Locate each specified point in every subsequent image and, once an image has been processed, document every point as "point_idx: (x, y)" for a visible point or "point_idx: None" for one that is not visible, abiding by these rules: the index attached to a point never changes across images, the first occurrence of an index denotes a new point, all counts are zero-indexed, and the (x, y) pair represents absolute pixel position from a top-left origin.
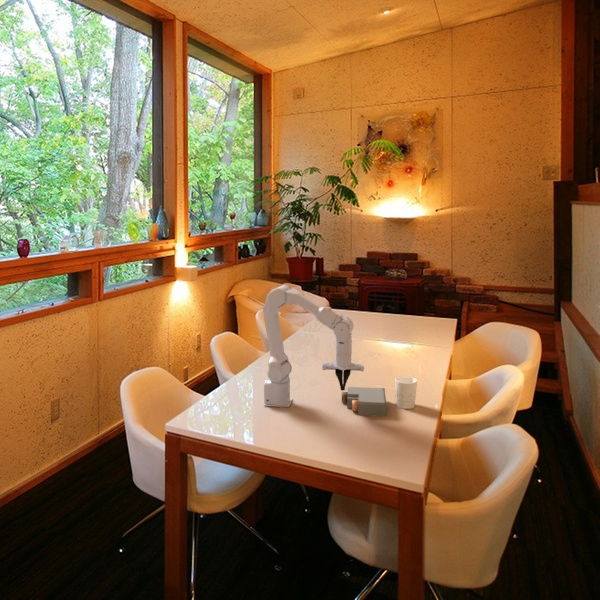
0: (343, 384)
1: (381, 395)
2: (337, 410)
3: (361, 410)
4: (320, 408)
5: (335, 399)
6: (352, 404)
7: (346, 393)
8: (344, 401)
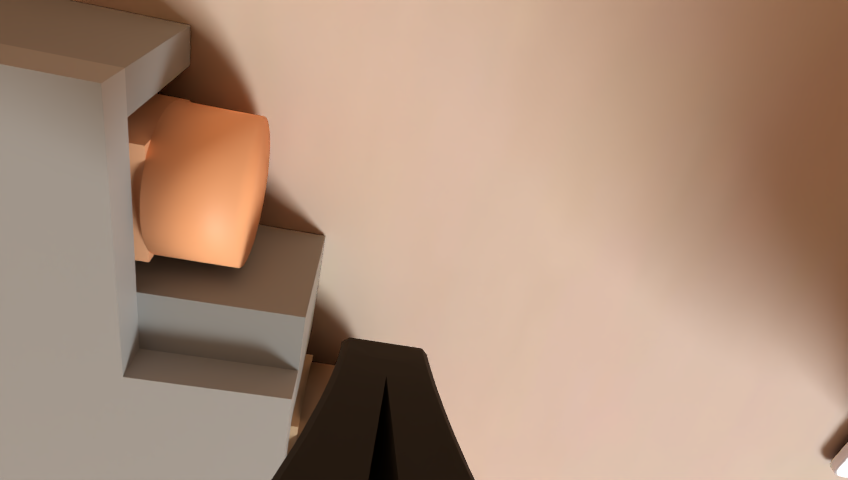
0: (362, 443)
1: None
2: (451, 196)
3: (113, 28)
4: (633, 264)
5: None
6: (241, 149)
7: None
8: None
